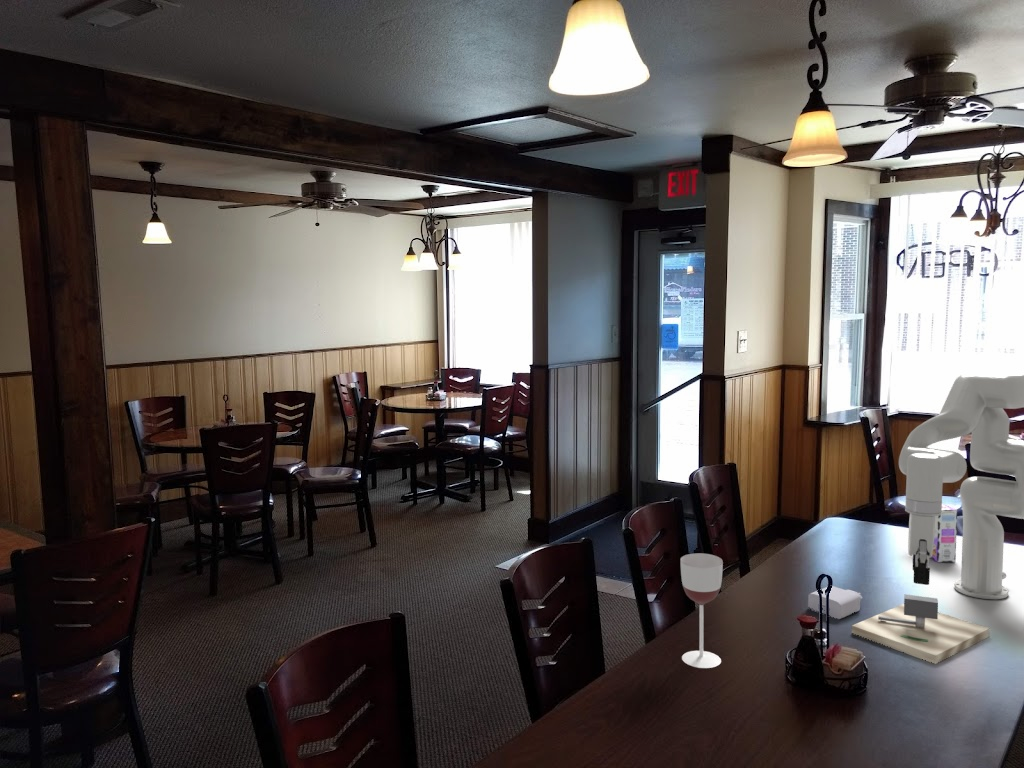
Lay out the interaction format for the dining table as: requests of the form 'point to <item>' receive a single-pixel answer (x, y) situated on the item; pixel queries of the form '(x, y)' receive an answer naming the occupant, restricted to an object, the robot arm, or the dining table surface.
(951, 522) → the candy box
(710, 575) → the wineglass
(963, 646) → the wooden cutting board
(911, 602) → the key
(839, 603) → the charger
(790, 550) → the dining table surface
